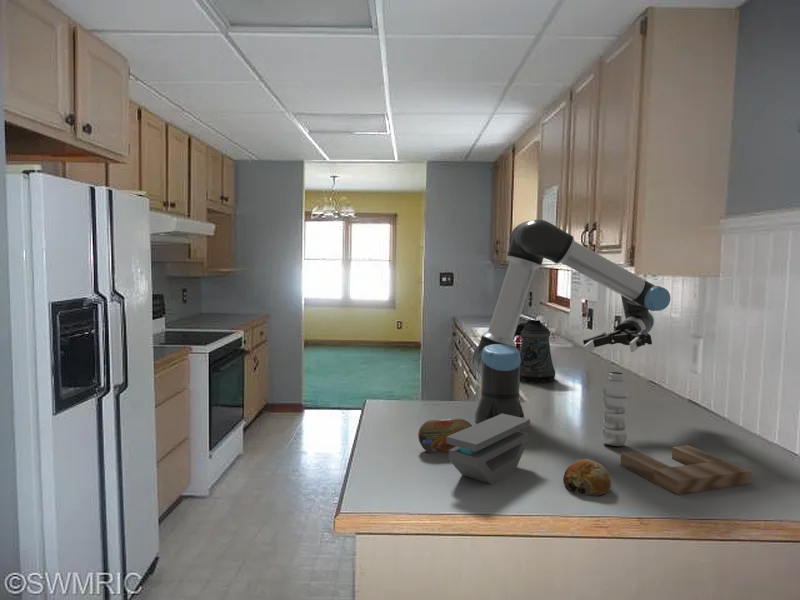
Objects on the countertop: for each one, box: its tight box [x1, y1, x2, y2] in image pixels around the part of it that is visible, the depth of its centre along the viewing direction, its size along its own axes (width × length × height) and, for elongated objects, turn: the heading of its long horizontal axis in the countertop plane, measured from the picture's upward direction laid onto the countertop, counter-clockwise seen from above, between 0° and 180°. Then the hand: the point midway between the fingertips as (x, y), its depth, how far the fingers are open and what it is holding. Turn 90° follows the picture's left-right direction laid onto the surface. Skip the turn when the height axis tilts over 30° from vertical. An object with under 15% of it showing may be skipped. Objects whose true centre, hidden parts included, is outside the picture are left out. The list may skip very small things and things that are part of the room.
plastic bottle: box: [600, 371, 629, 447], centre depth 151 cm, size 6×7×20 cm
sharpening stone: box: [446, 414, 531, 485], centre depth 131 cm, size 25×8×11 cm, turn 140°
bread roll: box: [562, 458, 612, 496], centre depth 123 cm, size 10×10×8 cm
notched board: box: [619, 444, 752, 495], centre depth 132 cm, size 21×18×3 cm
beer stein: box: [513, 319, 556, 384], centre depth 234 cm, size 16×19×25 cm
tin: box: [417, 418, 473, 454], centre depth 146 cm, size 15×3×8 cm, turn 101°
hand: (607, 348), depth 161 cm, fingers open, 13 cm apart
